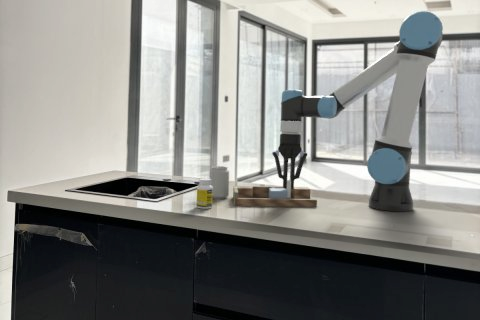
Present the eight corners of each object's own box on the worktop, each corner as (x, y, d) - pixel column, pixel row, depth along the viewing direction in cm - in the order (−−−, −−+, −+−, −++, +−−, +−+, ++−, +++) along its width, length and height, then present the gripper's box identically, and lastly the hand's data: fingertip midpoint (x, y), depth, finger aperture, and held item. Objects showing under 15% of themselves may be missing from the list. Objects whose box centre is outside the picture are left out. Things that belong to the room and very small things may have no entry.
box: (307, 198, 165) (307, 187, 165) (316, 206, 149) (317, 194, 149) (233, 197, 164) (233, 185, 163) (234, 205, 148) (234, 193, 147)
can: (226, 199, 158) (226, 168, 157) (206, 198, 160) (207, 167, 159) (230, 196, 166) (231, 166, 165) (212, 195, 167) (212, 165, 166)
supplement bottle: (208, 209, 140) (208, 180, 139) (193, 208, 142) (194, 179, 141) (214, 206, 145) (215, 178, 144) (200, 205, 147) (201, 177, 146)
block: (284, 201, 158) (285, 188, 157) (287, 204, 152) (287, 191, 151) (268, 201, 157) (269, 188, 157) (270, 204, 151) (271, 190, 151)
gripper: (306, 133, 156) (303, 195, 159) (271, 132, 156) (269, 195, 158) (310, 134, 149) (307, 199, 151) (273, 133, 148) (271, 198, 151)
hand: (287, 197), depth 155 cm, fingers closed
